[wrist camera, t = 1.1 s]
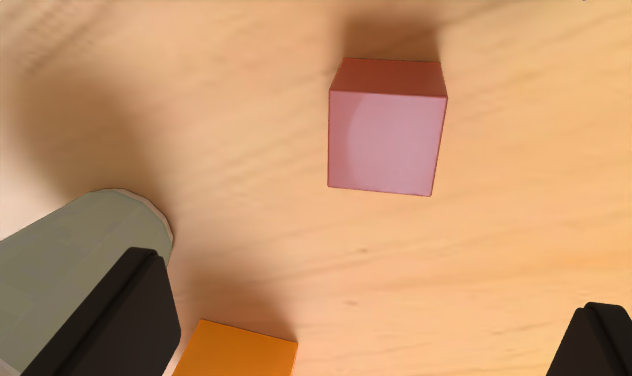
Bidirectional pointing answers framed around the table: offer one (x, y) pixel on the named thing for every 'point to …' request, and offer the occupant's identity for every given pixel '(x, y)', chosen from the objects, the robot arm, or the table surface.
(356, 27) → the table surface
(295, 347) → the orange juice
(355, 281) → the table surface
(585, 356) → the robot arm
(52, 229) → the disposable coffee cup
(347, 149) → the red block
